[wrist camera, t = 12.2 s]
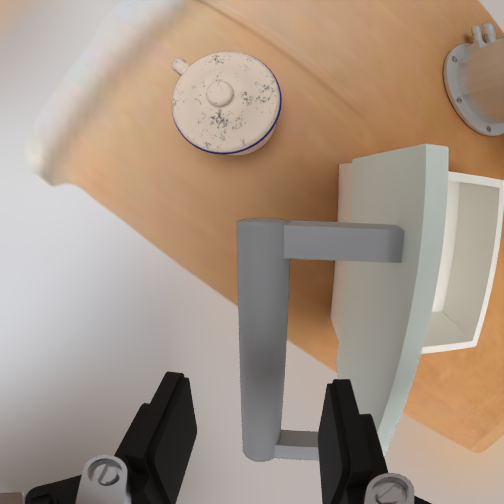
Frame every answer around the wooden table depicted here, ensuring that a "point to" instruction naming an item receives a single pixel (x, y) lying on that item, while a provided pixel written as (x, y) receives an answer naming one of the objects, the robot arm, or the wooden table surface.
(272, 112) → the teacup with lid
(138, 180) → the wooden table surface
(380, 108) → the wooden table surface
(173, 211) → the wooden table surface
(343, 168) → the carton
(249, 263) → the carton lid
